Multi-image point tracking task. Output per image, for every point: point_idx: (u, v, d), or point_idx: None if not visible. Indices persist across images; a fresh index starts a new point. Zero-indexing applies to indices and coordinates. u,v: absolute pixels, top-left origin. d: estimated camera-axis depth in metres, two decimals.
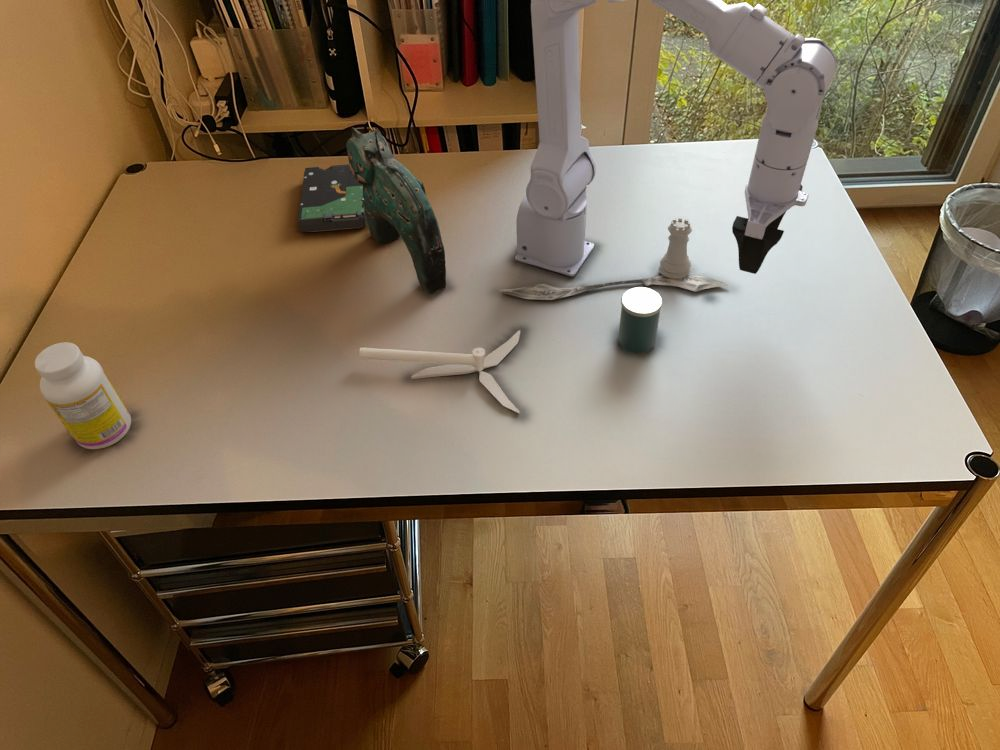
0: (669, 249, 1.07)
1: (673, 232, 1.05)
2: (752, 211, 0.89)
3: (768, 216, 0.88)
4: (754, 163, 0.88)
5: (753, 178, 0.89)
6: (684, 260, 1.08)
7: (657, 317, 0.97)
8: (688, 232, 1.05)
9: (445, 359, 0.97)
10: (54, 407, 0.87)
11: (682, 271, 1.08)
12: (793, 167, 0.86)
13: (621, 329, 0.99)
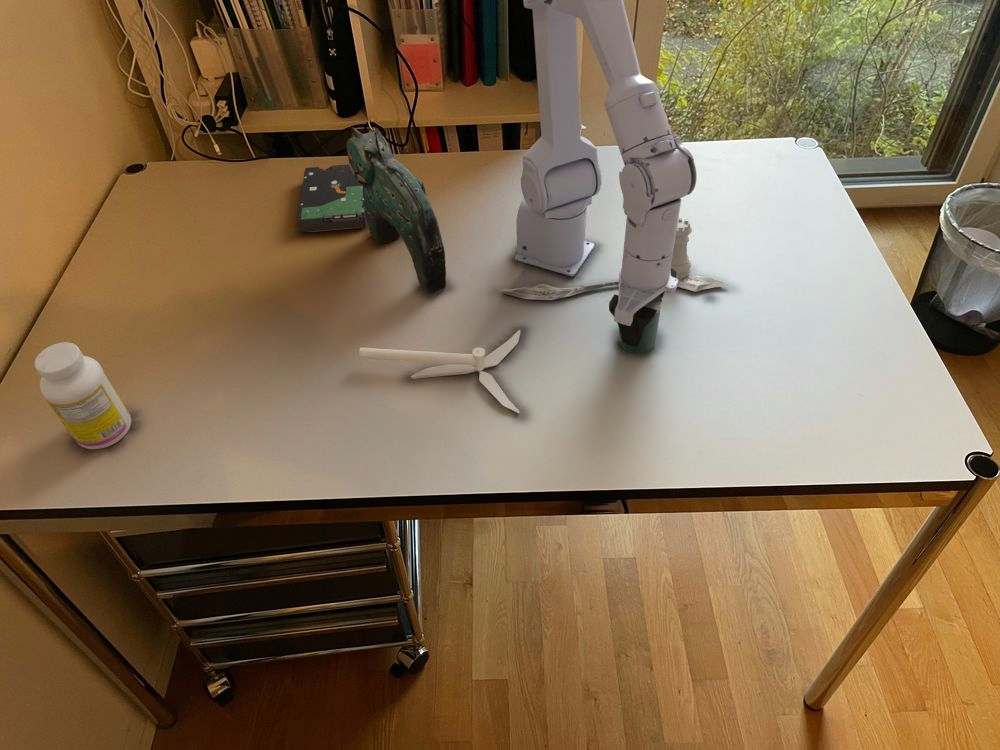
0: None
1: None
2: (622, 298, 0.91)
3: (636, 303, 0.91)
4: (623, 251, 0.91)
5: (624, 265, 0.92)
6: (684, 260, 1.08)
7: (658, 316, 0.97)
8: (688, 232, 1.05)
9: (445, 359, 0.97)
10: (54, 407, 0.87)
11: (682, 271, 1.08)
12: (642, 258, 0.89)
13: None
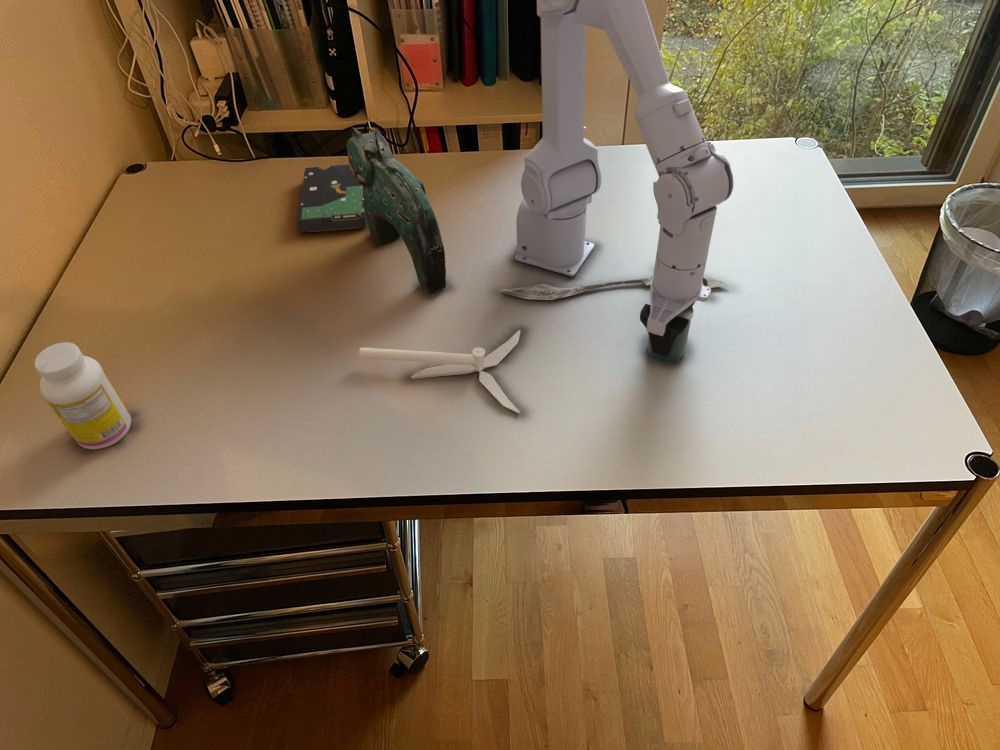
0: None
1: None
2: (654, 307, 0.90)
3: (669, 313, 0.90)
4: (656, 260, 0.90)
5: (656, 274, 0.90)
6: None
7: (688, 326, 0.96)
8: None
9: (445, 359, 0.97)
10: (54, 407, 0.87)
11: None
12: (678, 267, 0.87)
13: None
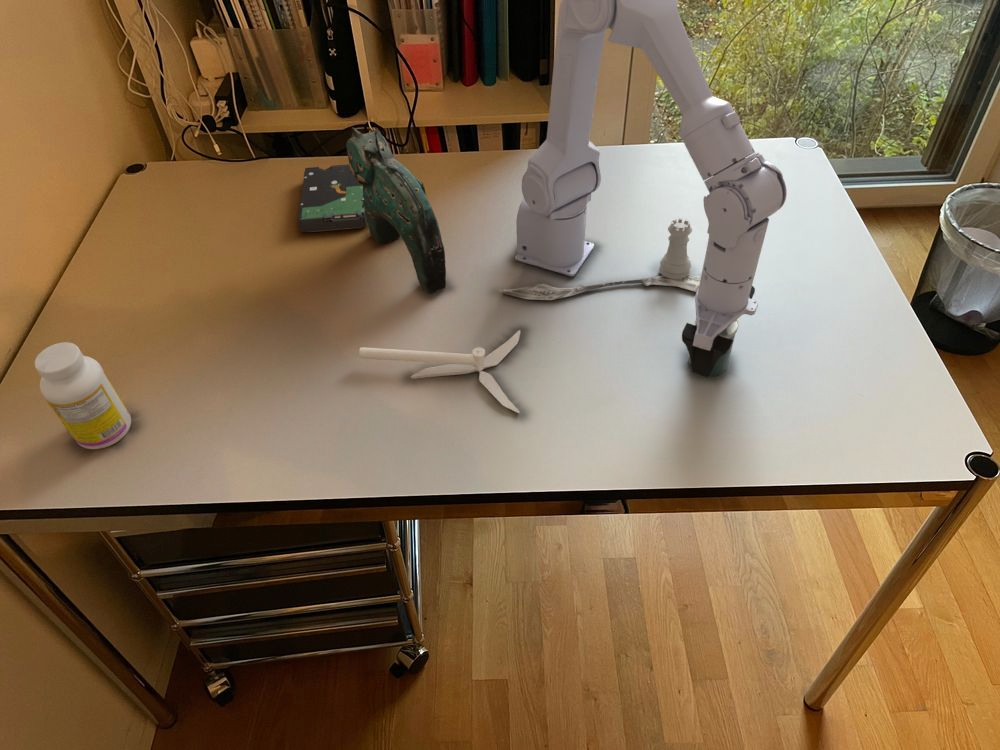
0: (669, 249, 1.07)
1: (673, 232, 1.05)
2: (701, 321, 0.88)
3: (716, 327, 0.88)
4: (702, 273, 0.88)
5: (702, 287, 0.89)
6: (684, 260, 1.08)
7: (733, 339, 0.94)
8: (688, 232, 1.05)
9: (445, 359, 0.97)
10: (54, 407, 0.87)
11: (682, 271, 1.08)
12: (729, 281, 0.85)
13: None
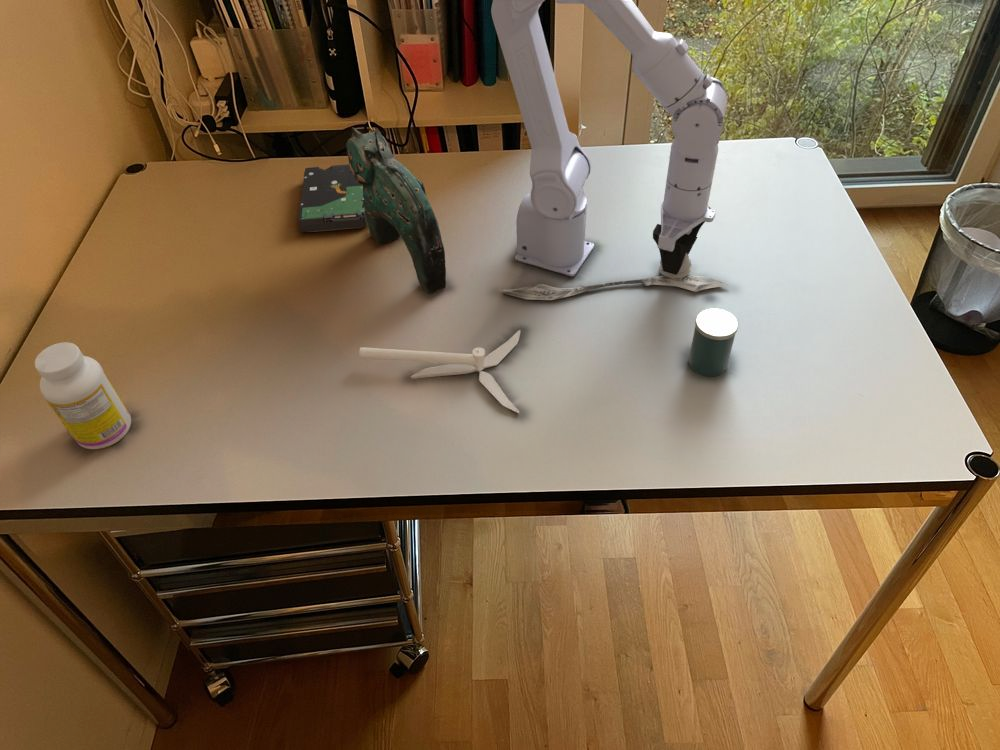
0: None
1: None
2: (664, 226, 1.00)
3: (678, 231, 1.00)
4: (666, 184, 1.00)
5: (666, 197, 1.01)
6: (684, 259, 1.08)
7: (733, 339, 0.94)
8: (688, 232, 1.05)
9: (445, 359, 0.97)
10: (54, 407, 0.87)
11: (682, 271, 1.08)
12: (702, 187, 0.97)
13: (693, 351, 0.96)
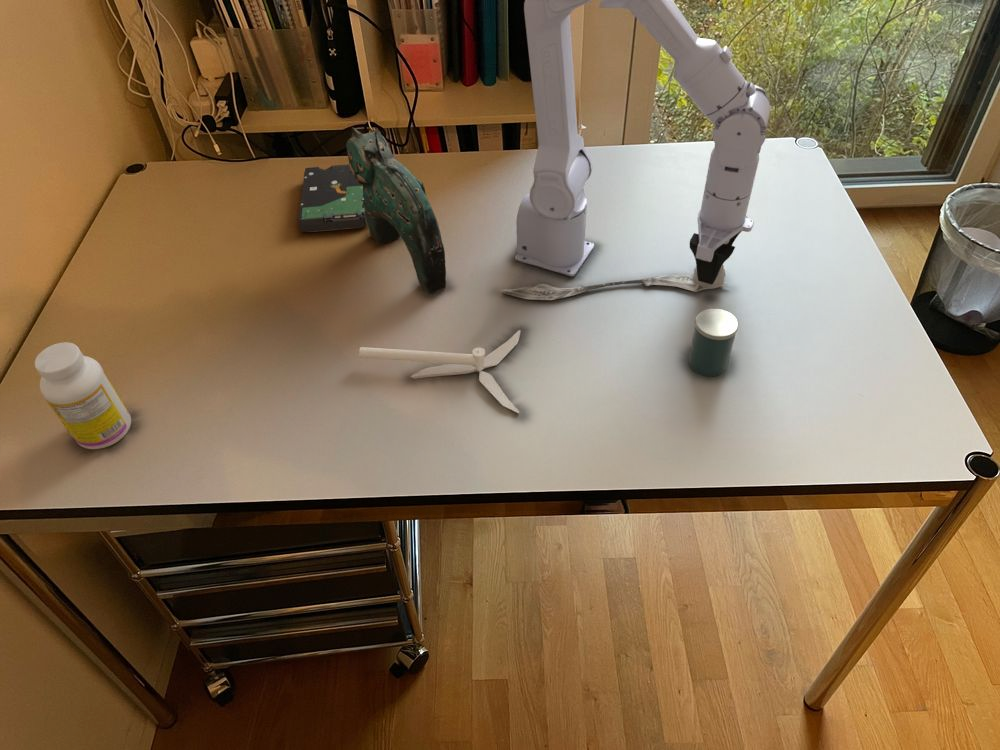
0: None
1: None
2: (702, 236, 0.99)
3: (716, 241, 0.98)
4: (704, 193, 0.98)
5: (704, 206, 0.99)
6: None
7: (733, 339, 0.94)
8: (726, 242, 1.03)
9: (445, 359, 0.97)
10: (54, 407, 0.87)
11: (717, 280, 1.06)
12: (741, 197, 0.96)
13: (693, 351, 0.96)
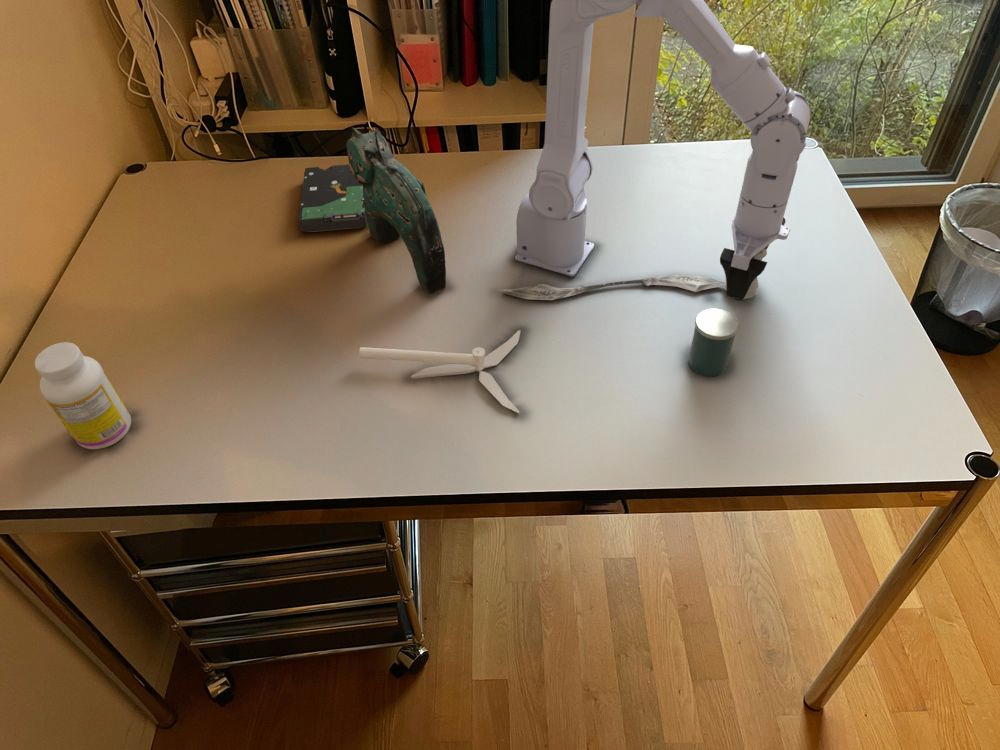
0: None
1: None
2: (738, 244, 0.97)
3: (752, 249, 0.96)
4: (740, 200, 0.97)
5: (739, 213, 0.97)
6: None
7: (733, 339, 0.94)
8: (763, 256, 1.01)
9: (445, 359, 0.97)
10: (54, 407, 0.87)
11: (750, 292, 1.05)
12: (778, 205, 0.94)
13: (693, 351, 0.96)
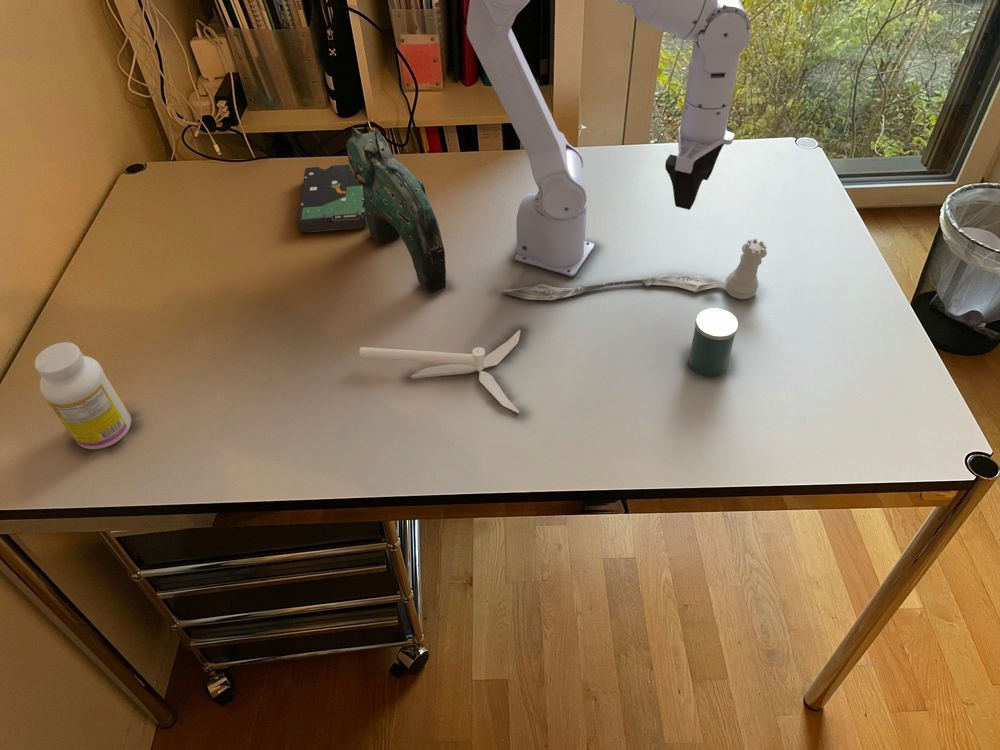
0: (740, 269, 1.04)
1: (748, 254, 1.01)
2: (682, 148, 0.97)
3: (696, 152, 0.97)
4: (684, 104, 0.97)
5: (684, 118, 0.98)
6: (753, 280, 1.05)
7: (733, 339, 0.94)
8: (763, 255, 1.01)
9: (445, 359, 0.97)
10: (54, 407, 0.87)
11: (750, 292, 1.05)
12: (726, 103, 0.95)
13: (693, 351, 0.96)
